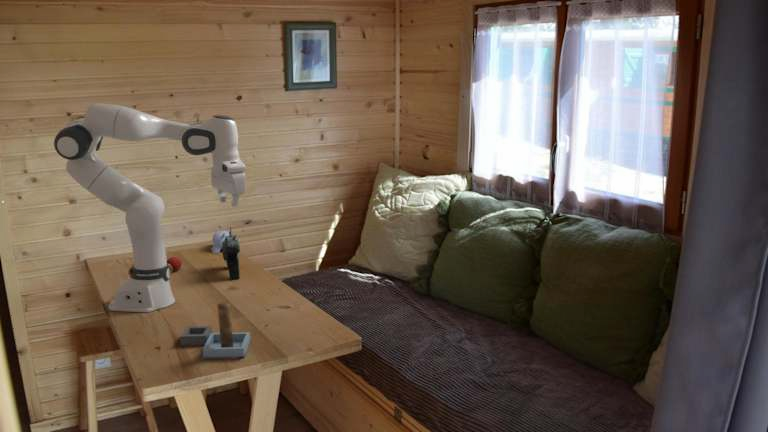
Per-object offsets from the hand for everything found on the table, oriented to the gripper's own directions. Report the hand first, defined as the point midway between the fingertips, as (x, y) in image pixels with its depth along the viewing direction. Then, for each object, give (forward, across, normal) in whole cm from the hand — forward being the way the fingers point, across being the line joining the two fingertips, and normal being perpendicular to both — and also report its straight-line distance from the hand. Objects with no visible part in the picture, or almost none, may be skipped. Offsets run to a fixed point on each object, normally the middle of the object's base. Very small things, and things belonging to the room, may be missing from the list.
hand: (228, 204), depth 242 cm
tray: (+37, +33, -18) cm, 52 cm away
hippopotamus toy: (+37, -71, +27) cm, 85 cm away
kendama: (+38, -53, -8) cm, 66 cm away
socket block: (+37, +20, -22) cm, 48 cm away
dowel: (+36, +32, -18) cm, 52 cm away
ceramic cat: (+37, -35, +15) cm, 53 cm away
